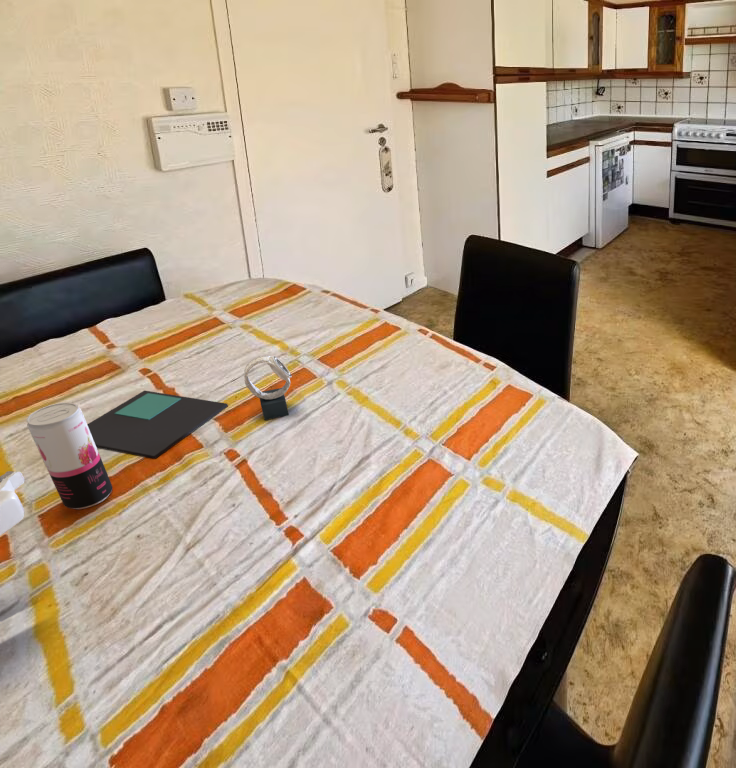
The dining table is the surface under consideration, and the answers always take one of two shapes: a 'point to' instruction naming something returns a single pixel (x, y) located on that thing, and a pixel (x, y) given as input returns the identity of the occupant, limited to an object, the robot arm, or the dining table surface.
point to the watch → (271, 399)
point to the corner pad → (148, 406)
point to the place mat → (152, 426)
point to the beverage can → (70, 454)
